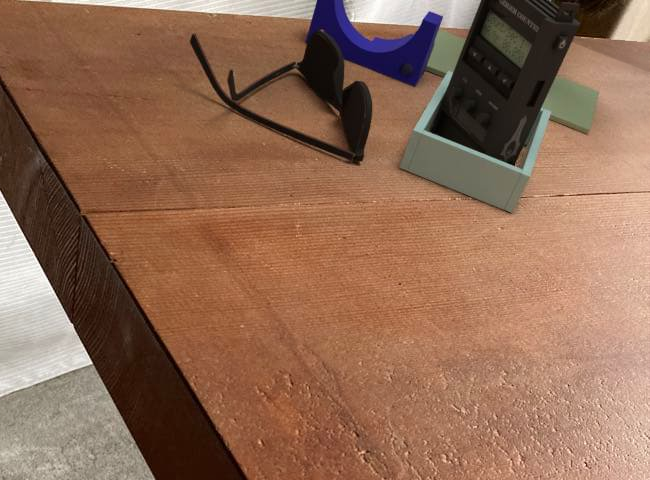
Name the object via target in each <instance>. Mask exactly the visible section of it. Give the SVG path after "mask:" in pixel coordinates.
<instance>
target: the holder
mask: <svg viewBox="0 0 650 480" xmlns="http://www.w3.org/2000/svg"><path fill="white" fill-rule="evenodd" d="M452 74H453V72H450V71H448V72H447V74H446V75H445V77H443V79H442V81H441V82H440V84H439V86H438V87H437V89H436V90H435V92H434V94H433V96H432V97H431V99H430V101H429V102H428V104H427V106H426V107H425V109H424V111H423V112H422V114H421V116H420V117H419V119H418V120H417V122H416V124H415V125H414V128H413V129H412V131H411V135H410V138H409V140H408V143H407V145H406V148H405V150H404V153H403V156H402V159H401V161H400V163H399V166H398V167H399V169H401V170H404V171H406V172H409V173H411V174H414V175H416V176H419V177H421V178H423V179H426V180H429V181H431V182H433V183H436V184H438V185H440V186H442V187H445V188H448V189H451V190H453V191H456V192H458V193H461V194H462V195H466V196H468V197H471V198H473V199H475V200H478V201H480V202H483V203H485V204H487V205H491V206H493V207H496V208H498V209H500V210H503V211H505V212H508V213H511V214H513V213H514V211H515V210H516V207H517V205H518V203H519V202H520V199H521V196H522V195H523V192H524V191H525V188H526V187H527V185H528V182H529V180H530V178H531V175H532V173H533V169H534V166H535V163H536V160H537V157H538V154H539V151H540V148H541V145H542V143H543V139H544V136H545V132H546V130H547V127H548V124H549V120H550V119H549V118H550V115H551V111H549V110H546V109H543V108H541V110H540V112H539V114H538V116H537V118H536V120H535V123H534V125H533V127H532V129H531V131H530V133H529V136H528V138H527V140H526V142H525V144H524V146H526V147H525V150H524V152H523V156H522V158H521V160H520V164H519V166H513V165H510V164H508V163H505V162H503V161H500V160H498V159H495V158H492V157H490V156H487V155H485V154H482V153H480V152H477V151H475V150H472V149H470V148H467V147H465V146H462V145H460V144H457V143H455V142H452V141H450V140H447V139H445V138H442V137H440V136H439V135H438V134H433V133H432V132H431V129H432V126H433V123H434V121H435V118H436V116H437V113H438V111H439V108H440V105H441V103H442V100H443V98H444V95H445V92H446V90H447V87H448V85H449V82H450V80H451V77H452Z"/></svg>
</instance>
